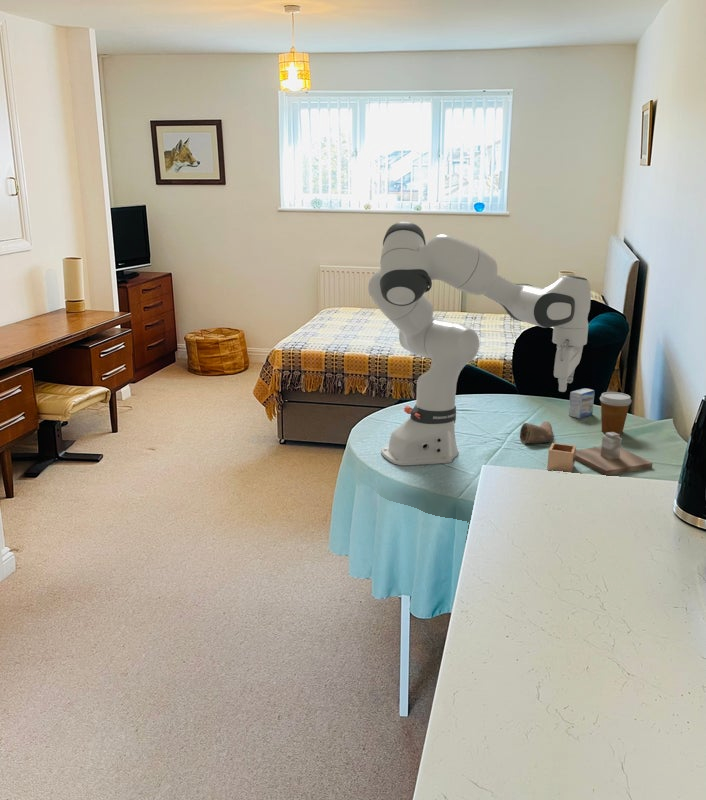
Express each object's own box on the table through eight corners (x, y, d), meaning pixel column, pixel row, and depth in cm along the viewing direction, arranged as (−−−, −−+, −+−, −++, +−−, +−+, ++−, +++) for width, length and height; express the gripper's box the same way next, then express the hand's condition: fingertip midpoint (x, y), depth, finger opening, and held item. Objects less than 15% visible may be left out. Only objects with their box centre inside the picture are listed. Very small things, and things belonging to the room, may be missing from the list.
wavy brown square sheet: (605, 475, 200) (609, 446, 197) (568, 456, 214) (571, 428, 212) (652, 467, 206) (655, 439, 203) (612, 449, 220) (615, 422, 217)
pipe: (556, 417, 235) (524, 409, 237) (555, 433, 219) (522, 425, 221) (551, 435, 237) (520, 428, 239) (550, 453, 221) (517, 444, 223)
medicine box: (579, 419, 248) (581, 394, 246) (567, 415, 251) (570, 391, 249) (592, 414, 253) (595, 390, 250) (581, 411, 256) (583, 387, 254)
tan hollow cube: (571, 474, 201) (573, 453, 199) (547, 470, 203) (548, 450, 202) (574, 466, 207) (576, 445, 205) (550, 462, 209) (552, 442, 207)
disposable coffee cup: (590, 430, 236) (593, 394, 233) (607, 425, 242) (611, 389, 238) (616, 438, 229) (620, 401, 226) (633, 432, 235) (638, 396, 231)
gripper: (575, 345, 185) (570, 398, 189) (588, 330, 203) (583, 379, 207) (550, 342, 188) (546, 395, 192) (564, 328, 206) (560, 376, 210)
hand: (565, 386), depth 200 cm, fingers open, 8 cm apart
